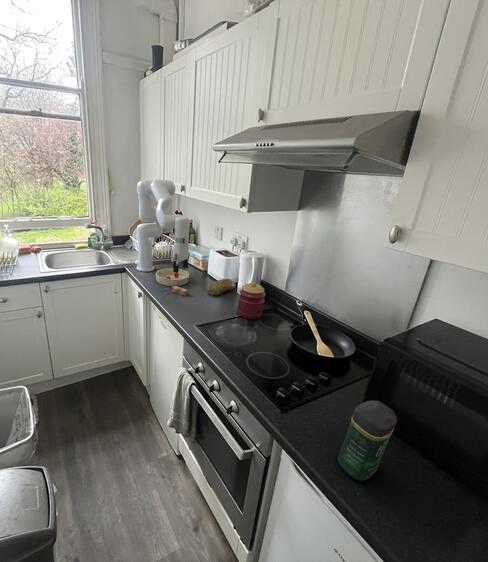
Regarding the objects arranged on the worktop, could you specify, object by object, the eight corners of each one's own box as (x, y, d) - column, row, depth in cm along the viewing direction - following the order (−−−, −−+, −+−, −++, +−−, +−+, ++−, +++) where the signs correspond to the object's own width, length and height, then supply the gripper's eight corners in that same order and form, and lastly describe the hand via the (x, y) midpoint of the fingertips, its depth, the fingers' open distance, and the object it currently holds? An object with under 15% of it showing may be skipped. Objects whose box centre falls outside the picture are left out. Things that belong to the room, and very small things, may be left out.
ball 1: (164, 281, 186) (164, 276, 185) (167, 280, 188) (167, 275, 187) (168, 282, 184) (169, 277, 183) (171, 281, 187) (172, 276, 186)
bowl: (148, 281, 186) (148, 274, 185) (168, 272, 204) (168, 266, 202) (176, 289, 177) (177, 282, 175) (195, 279, 194) (195, 272, 193)
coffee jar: (360, 488, 71) (382, 430, 64) (331, 461, 77) (349, 405, 70) (382, 469, 76) (405, 414, 69) (353, 445, 82) (372, 392, 75)
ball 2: (172, 277, 193) (173, 272, 192) (175, 276, 196) (175, 271, 195) (177, 278, 192) (177, 274, 191) (179, 277, 194) (179, 272, 193)
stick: (171, 291, 173) (171, 287, 172) (174, 290, 176) (174, 285, 174) (185, 295, 169) (186, 291, 168) (188, 294, 171) (188, 289, 170)
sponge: (224, 287, 188) (199, 286, 176) (228, 276, 185) (203, 274, 173) (236, 298, 179) (210, 298, 167) (241, 287, 176) (215, 286, 164)
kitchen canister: (254, 307, 161) (259, 276, 154) (266, 318, 149) (272, 286, 143) (232, 309, 157) (236, 277, 150) (243, 321, 145) (248, 287, 139)
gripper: (184, 236, 170) (183, 265, 176) (166, 241, 155) (166, 272, 161) (195, 238, 166) (194, 267, 172) (178, 244, 152) (177, 275, 158)
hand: (180, 269), depth 167 cm, fingers open, 9 cm apart
